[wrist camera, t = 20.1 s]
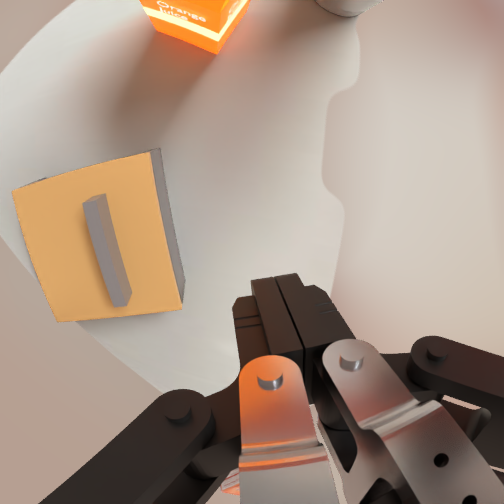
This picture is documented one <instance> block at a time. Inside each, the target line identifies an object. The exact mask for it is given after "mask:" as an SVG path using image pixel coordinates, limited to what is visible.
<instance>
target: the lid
mask: <svg viewBox="0 0 504 504" xmlns="http://www.w3.org/2000/svg"><path fill="white" fill-rule="evenodd" d="M12 195H13V199H14V203H15V207H16V211H17V215H18V219H19V222H20V226H21V229H22V233H23V236H24V239H25V242H26V246H27V249H28V252H29V254H30V257H31V260H32V263H33V266H34V269H35V271H36V274H37V276H38V279H39V282H40V284H41V287H42V289H43V291H44V294H45V296H46V298H47V301H48V303H49V305H50V308H51V310H52V312H53V314H54V316H55V318H56V320H57V322H67V321H80V320H91V319H102V318H112V317H122V316H131V315H140V314H149V313H158V312H166V311H174V310H182V303H181V299H180V295H179V291H178V287H177V283H176V279H175V275H174V271H173V267H172V262H171V258H170V254H169V249H168V245H167V240H166V236H165V231H164V226H163V221H162V216H161V211H160V206H159V201H158V196H157V190H156V185H155V179H154V173H153V167H152V161H151V155H150V152H146V153H142V154H137V155H132V156H128V157H124V158H119V159H115V160H111V161H107V162H103V163H99V164H95V165H92V166H88V167H84V168H81V169H77V170H74V171H70V172H67V173H63V174H60V175H57V176H54V177H51V178H48V179H44V180H41V181H38V182H35V183H33V184H30V185H27V186H24V187H21V188H18V189H16V190H14V191H12Z"/></svg>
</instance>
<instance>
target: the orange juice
mask: <svg viewBox="0 0 504 504" xmlns="http://www.w3.org/2000/svg"><path fill="white" fill-rule="evenodd" d="M140 2H141V4H142V5H143V6H142V7H143V8H144V10H145V12H146V13H147V15H148V16H149V18H150V19H151V21H152V23H153V25H154V27H155V28H156V30H157V31H160V32H163V33H165V34H168V35H171V36H173V37H176V38H179V39H181V40H184V41H186V42H189V43H191V44H194V45H196V46H198V47H201V48H203V49H205V50H208V51H210V52H212V53H214V54H218V52H219V50H220V49H221V47H222V46H223V44H224V43H225V41H226V40H227V38H228V37H229V35H230V34H231V33H232V31H233V30H234V28H235V27H236V25H237V24H238V22H239V21H240V20H241V18H242V17H243V16H244V14H245V13H246V11H247V8H248V6H249V3H250V0H140Z"/></svg>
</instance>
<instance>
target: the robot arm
mask: <svg viewBox="0 0 504 504" xmlns="http://www.w3.org/2000/svg"><path fill="white" fill-rule="evenodd" d="M315 1H316V2H317V3H318V4H319V5H320V6H322V7H323V8H324V9H326V10H328V11H329V12H331V13H334V14H336V15H340V16H345V17H352V16H357V15H359V14H361V13H363V12H365V11H366V10H368V9H370V8H371V7H373V6H375V5H377V4H378V3H380V2H382V1H384V0H315ZM251 289H252V296H246V297H239V298H237V299H236V301H235V303H234V305H233V307H232V311H233V318H234V325H235V332H236V339H237V346H238V353H239V359H240V372H239V375H238V377H237V378H236V380H235V381H234V382H233V383H232V384H231V385H230V386H228V387H227V388H225V389H224V390H222V391H220V392H217V393H215V394H212V395H209V396H207V397H204V396H203V395H202V394H200V393H198V392H196V391H193V390H188V389H178V390H173V391H169V392H167V393H165V394H163V395H161V396H159V397H158V398H157V399H156V400H155V401H154V402H153V403H152V404H151V405H149V406H148V407H147V408H146V409H145V410H144V411H143V412H142V413H141V414H140V415H139V416H138V417H137V418H136V419H135V420H133V422H131V423H130V424H129V425H128V426H127V427H126V428H125V429H124V430H123V431H122V432H120V433H119V434H118V435H117V436H116V437H115V438H114V439H113V440H112V441H111V442H109V443H108V444H107V445H106V446H105V447H104V448H103V449H102V450H101V451H99V452H98V453H97V454H96V455H95V456H94V457H93V458H92V459H90V461H88V462H87V463H86V464H85V465H84V466H82V467H81V468H80V469H79V470H78V471H77V472H76V473H74V474H73V475H72V476H71V477H70V478H69V479H67V480H66V481H65V482H64V483H63V484H61V485H60V486H59V487H58V488H57V489H56V490H54V491H53V492H52V493H51V494H50V495H48V496H47V497H46V498H45V499H43V500H42V501H41V502H40V503H39V504H205V503H206V502H207V501H208V500H209V499H210V497H211V496H212V495H213V494H214V492H215V491H216V490H217V489H218V487H219V486H220V485H221V484H222V483H223V481H224V480H225V479H226V478H227V476H228V475H229V473H230V471H232V470H235V469H237V468H239V485H240V504H339V500H338V495H337V491H336V487H335V483H334V479H333V475H332V471H331V467H330V463H329V459H328V455H327V452H326V450H325V447H324V445H323V444H322V443H319V441H318V439H317V435H316V431H315V427H314V423H313V419H312V415H311V410H310V406H309V405H311V404H315V407H316V410H317V412H318V416H317V425H318V428H319V430H320V433H321V435H322V437H323V439H324V441H325V443H326V445H327V448H328V450H329V452H330V454H331V456H332V458H333V460H334V463H335V465H336V467H337V469H338V471H339V473H340V476H341V479H342V483H343V491H344V495H345V498H346V501H347V503H348V504H504V473H503V472H500V471H497V470H494V469H491V468H490V466H489V465H491V466H494V467H498V468H502V469H504V357H502V356H499V355H495V354H492V353H489V352H486V351H483V350H480V349H477V348H474V347H471V346H467V345H464V344H461V343H458V342H455V341H452V340H449V339H446V338H442V337H439V336H426V337H423V338H420V339H419V340H417V341H416V342H415V343H414V344H413V346H412V349H411V352H410V353H399V354H381V353H379V352H378V351H377V350H376V349H375V348H374V346H372V345H371V344H369V343H367V342H365V341H362V340H358V339H356V338H355V336H354V335H353V333H352V332H351V330H350V328H349V327H348V325H347V324H346V322H345V321H344V319H343V318H342V316H341V315H340V313H339V312H338V311H337V309H336V307H335V305H334V304H333V303H332V301H331V299H330V298H329V296H328V295H327V293H326V292H325V291H324V290H322V289H320V288H319V287H317V286H315V285H311V286H305V287H304V285H303V283H302V281H301V280H300V278H299V276H298V274H297V273H293V274H287V275H281V276H275V277H274V278H273V277H269V278H262V279H256V280H251ZM444 395H447V396H450V397H453V398H455V399H458V400H461V401H464V402H467V403H470V404H473V405H476V406H479V407H481V408H480V409H476V410H472V409H469V408H466V407H463V406H460V405H457V404H454V403H451V402H448V401H446V400H443V399H442V398H443V397H444Z"/></svg>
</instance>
